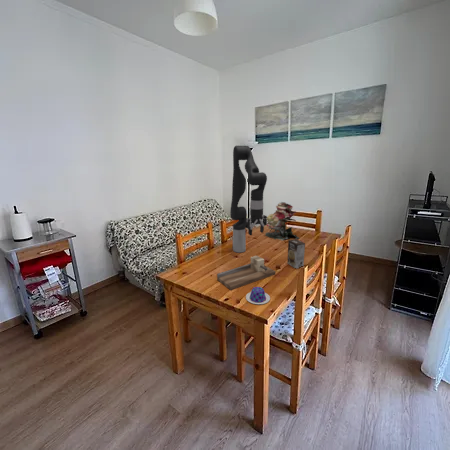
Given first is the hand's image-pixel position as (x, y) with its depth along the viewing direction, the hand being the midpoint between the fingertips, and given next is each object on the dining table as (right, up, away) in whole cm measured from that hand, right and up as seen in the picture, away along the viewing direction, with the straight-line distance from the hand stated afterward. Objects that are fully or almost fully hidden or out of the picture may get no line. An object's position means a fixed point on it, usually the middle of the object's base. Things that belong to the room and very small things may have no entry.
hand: (256, 233), depth 149 cm
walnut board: (-6, -25, -4) cm, 26 cm away
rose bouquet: (+30, -5, +68) cm, 74 cm away
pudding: (-2, -32, -26) cm, 41 cm away
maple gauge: (+2, -22, -1) cm, 22 cm away
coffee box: (+26, -21, +10) cm, 35 cm away
